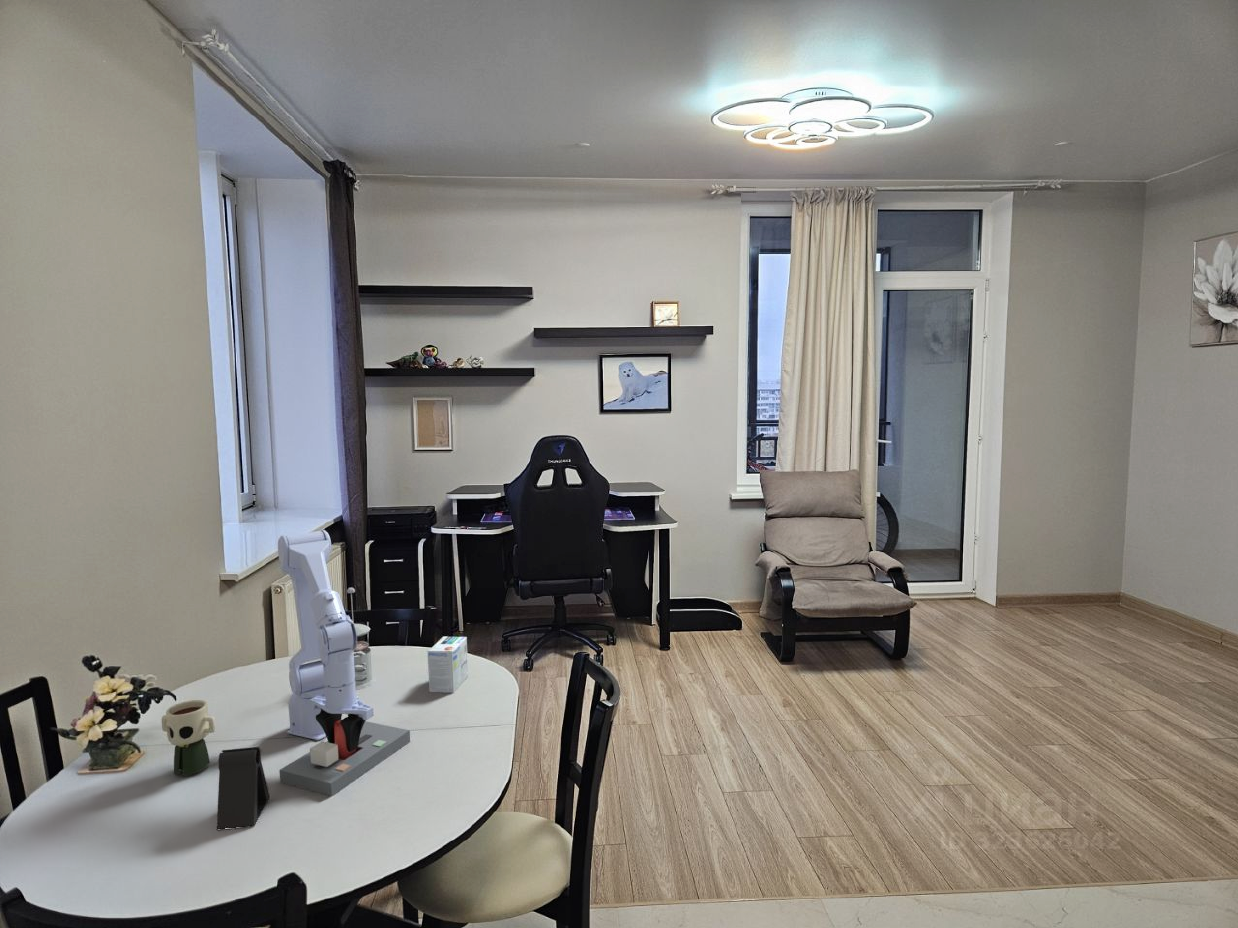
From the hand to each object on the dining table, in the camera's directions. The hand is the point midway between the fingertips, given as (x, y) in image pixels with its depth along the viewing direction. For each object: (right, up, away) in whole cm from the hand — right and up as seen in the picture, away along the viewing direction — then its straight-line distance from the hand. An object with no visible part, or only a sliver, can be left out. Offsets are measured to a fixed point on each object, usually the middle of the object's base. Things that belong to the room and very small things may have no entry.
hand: (343, 747), depth 144 cm
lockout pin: (0, -2, 0) cm, 2 cm away
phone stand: (-11, -6, -16) cm, 21 cm away
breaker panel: (0, -3, +1) cm, 4 cm away
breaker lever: (-2, -1, -5) cm, 5 cm away
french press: (-13, 0, +41) cm, 43 cm away
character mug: (-30, -4, -1) cm, 30 cm away
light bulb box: (+12, +1, +39) cm, 40 cm away
